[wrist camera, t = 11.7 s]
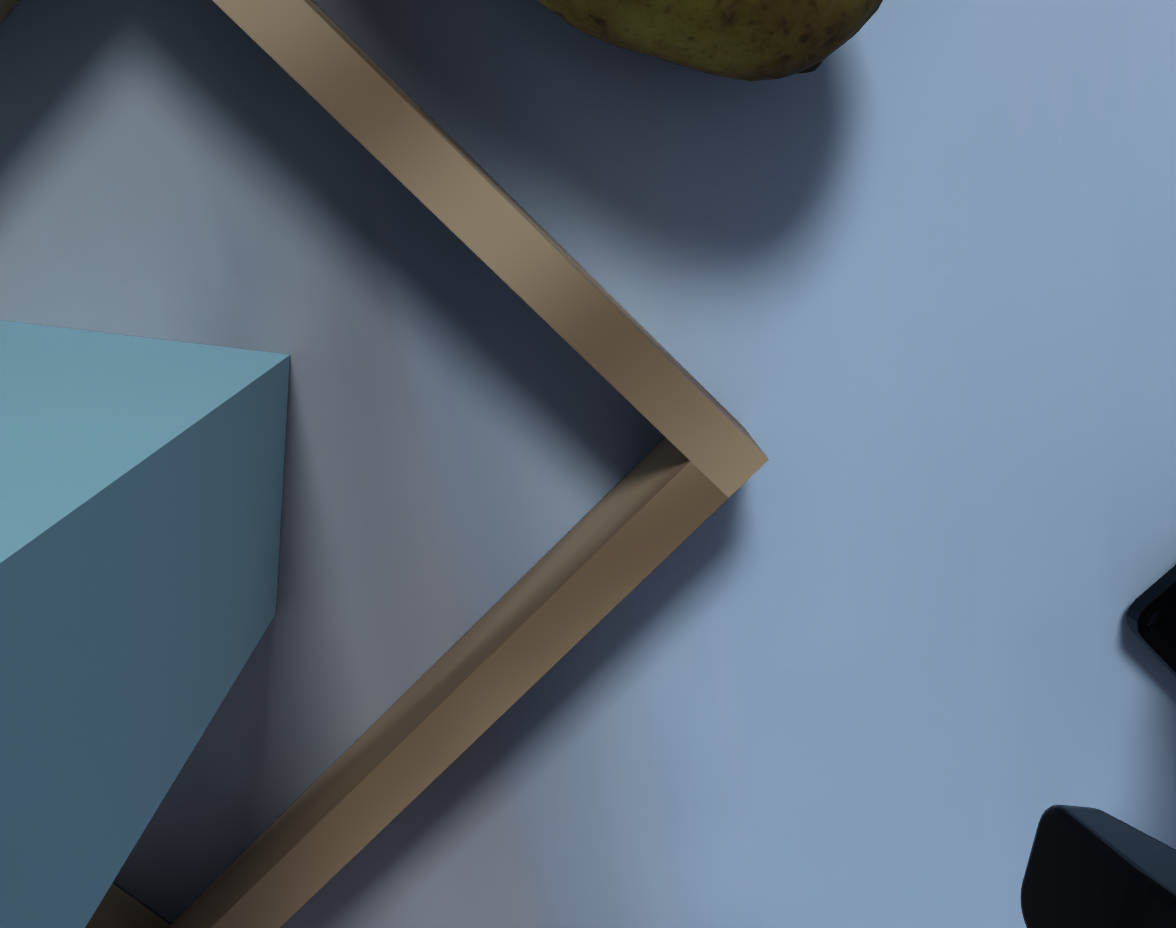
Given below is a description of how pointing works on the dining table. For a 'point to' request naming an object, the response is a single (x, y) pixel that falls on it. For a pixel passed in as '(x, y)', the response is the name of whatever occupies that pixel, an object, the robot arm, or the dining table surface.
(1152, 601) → the robot arm
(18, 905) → the milk carton
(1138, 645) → the dining table surface
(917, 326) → the dining table surface
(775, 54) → the potato
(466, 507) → the dining table surface
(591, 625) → the light wood flat frame
